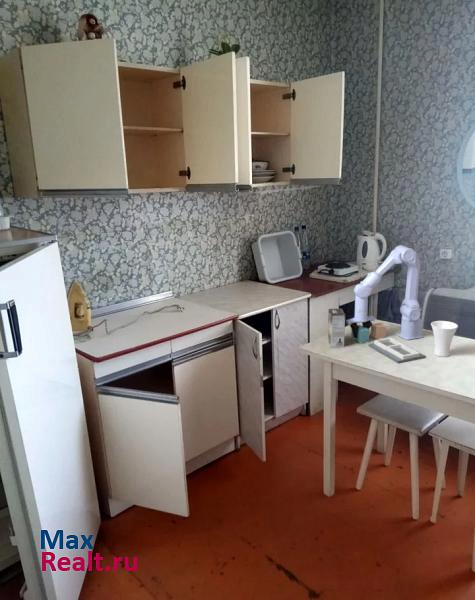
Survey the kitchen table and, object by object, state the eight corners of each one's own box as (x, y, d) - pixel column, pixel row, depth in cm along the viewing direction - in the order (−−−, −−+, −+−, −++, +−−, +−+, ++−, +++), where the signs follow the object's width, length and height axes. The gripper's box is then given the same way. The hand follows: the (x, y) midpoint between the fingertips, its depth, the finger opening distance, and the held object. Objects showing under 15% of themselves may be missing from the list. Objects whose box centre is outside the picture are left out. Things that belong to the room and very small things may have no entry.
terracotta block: (379, 334, 227) (379, 322, 225) (385, 337, 223) (386, 325, 221) (370, 335, 226) (370, 324, 224) (376, 339, 221) (377, 327, 219)
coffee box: (327, 340, 222) (328, 308, 217) (340, 340, 221) (341, 308, 217) (330, 347, 213) (331, 314, 208) (344, 347, 213) (345, 314, 208)
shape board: (394, 341, 217) (394, 336, 216) (425, 357, 198) (425, 352, 197) (368, 346, 213) (368, 341, 212) (398, 363, 194) (398, 357, 193)
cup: (457, 359, 195) (460, 329, 192) (431, 358, 197) (433, 328, 194) (451, 350, 205) (454, 321, 201) (426, 349, 207) (429, 320, 203)
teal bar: (359, 336, 225) (359, 324, 224) (368, 341, 218) (369, 329, 216) (351, 337, 224) (351, 325, 222) (360, 343, 217) (361, 331, 215)
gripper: (369, 305, 223) (368, 331, 226) (343, 309, 218) (342, 336, 222) (378, 309, 216) (376, 336, 220) (351, 313, 212) (350, 341, 216)
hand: (360, 336), depth 221 cm, fingers closed on teal bar, 4 cm apart
